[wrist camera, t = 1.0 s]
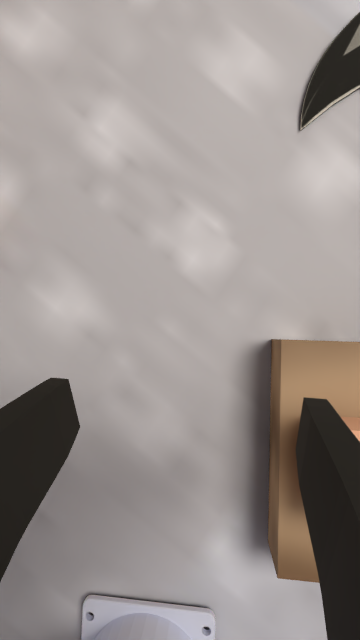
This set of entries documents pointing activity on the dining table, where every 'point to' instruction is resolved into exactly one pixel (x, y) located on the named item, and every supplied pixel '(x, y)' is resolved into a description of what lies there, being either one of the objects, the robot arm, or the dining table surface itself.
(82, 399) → the dining table surface
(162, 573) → the dining table surface
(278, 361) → the wooden square board
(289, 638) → the dining table surface
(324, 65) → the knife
